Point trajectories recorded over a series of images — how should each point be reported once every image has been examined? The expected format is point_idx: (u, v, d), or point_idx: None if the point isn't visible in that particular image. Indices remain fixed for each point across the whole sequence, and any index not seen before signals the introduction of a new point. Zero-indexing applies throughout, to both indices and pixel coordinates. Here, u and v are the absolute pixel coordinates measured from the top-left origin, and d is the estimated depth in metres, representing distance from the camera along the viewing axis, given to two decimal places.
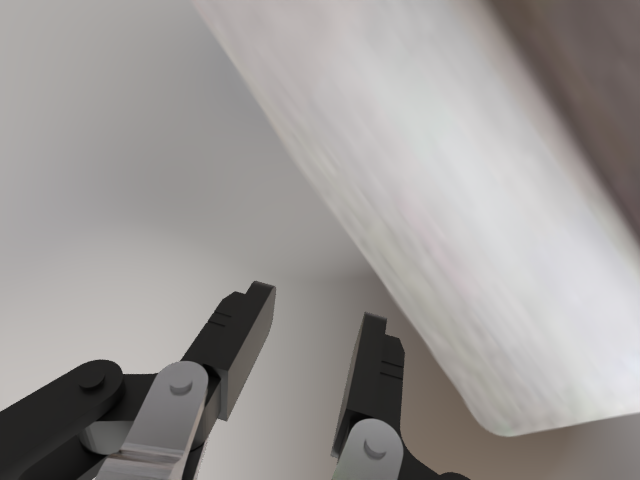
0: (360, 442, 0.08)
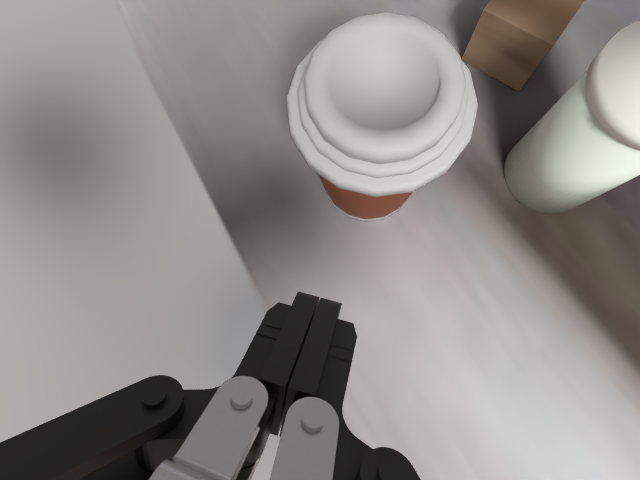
0: (297, 418, 0.09)
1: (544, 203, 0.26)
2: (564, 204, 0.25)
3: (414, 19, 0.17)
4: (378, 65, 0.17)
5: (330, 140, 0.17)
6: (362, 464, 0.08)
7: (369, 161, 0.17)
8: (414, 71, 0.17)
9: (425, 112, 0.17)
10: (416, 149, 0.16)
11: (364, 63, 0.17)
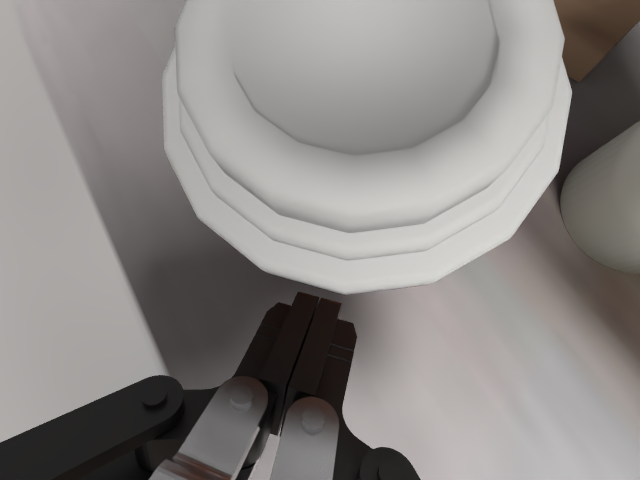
0: (297, 418, 0.09)
1: (633, 261, 0.16)
2: None
3: None
4: None
5: (233, 176, 0.07)
6: (362, 464, 0.08)
7: (328, 225, 0.07)
8: (435, 12, 0.07)
9: (464, 110, 0.07)
10: (443, 205, 0.06)
11: None
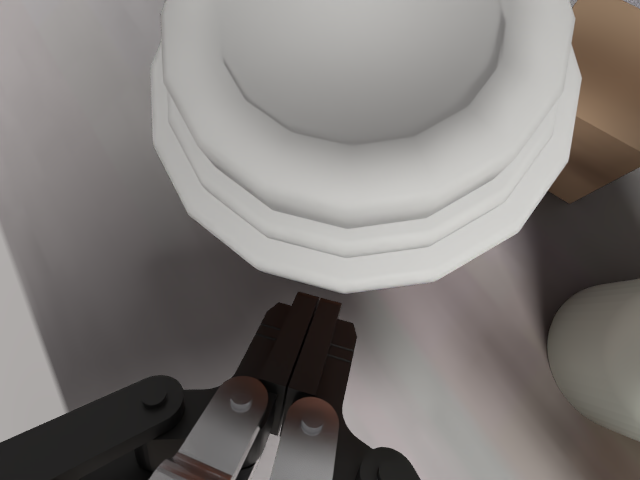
0: (297, 418, 0.09)
1: (626, 435, 0.14)
2: None
3: None
4: None
5: (224, 169, 0.07)
6: (362, 464, 0.08)
7: (324, 221, 0.07)
8: None
9: (468, 95, 0.06)
10: (446, 196, 0.06)
11: None
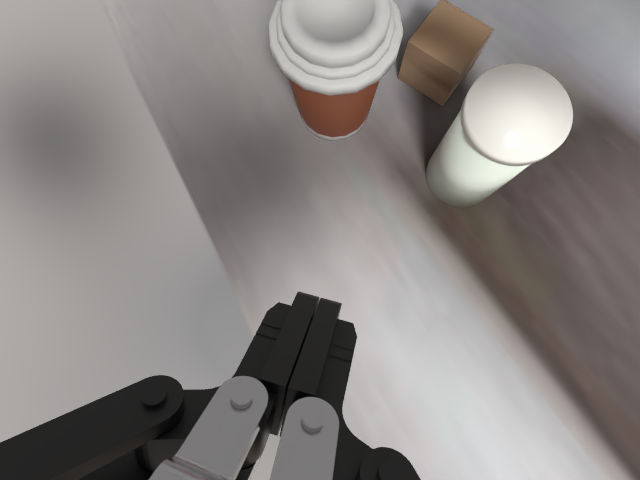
0: (297, 418, 0.09)
1: (452, 198, 0.32)
2: (466, 200, 0.32)
3: None
4: None
5: (297, 50, 0.24)
6: (362, 464, 0.08)
7: (324, 65, 0.24)
8: (356, 4, 0.24)
9: (363, 31, 0.24)
10: (355, 55, 0.24)
11: None
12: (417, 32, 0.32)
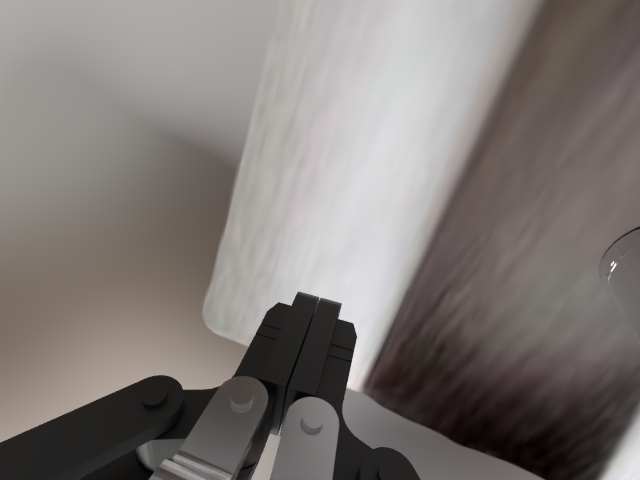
0: (297, 418, 0.09)
1: None
2: None
3: None
4: None
5: None
6: (362, 464, 0.08)
7: None
8: None
9: None
10: None
11: None
12: None
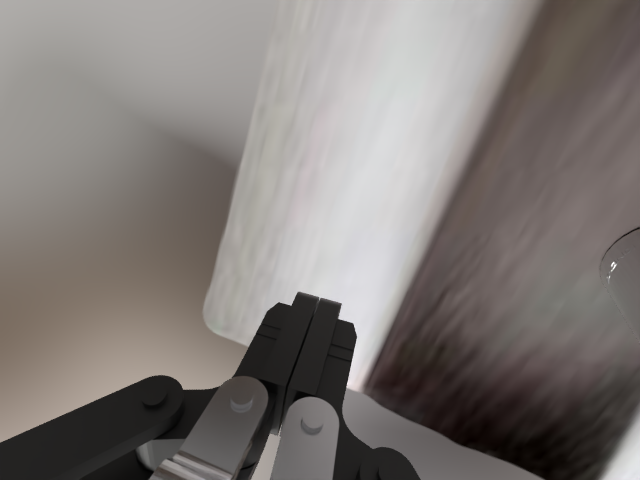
0: (297, 418, 0.09)
1: None
2: None
3: None
4: None
5: None
6: (362, 464, 0.08)
7: None
8: None
9: None
10: None
11: None
12: None
